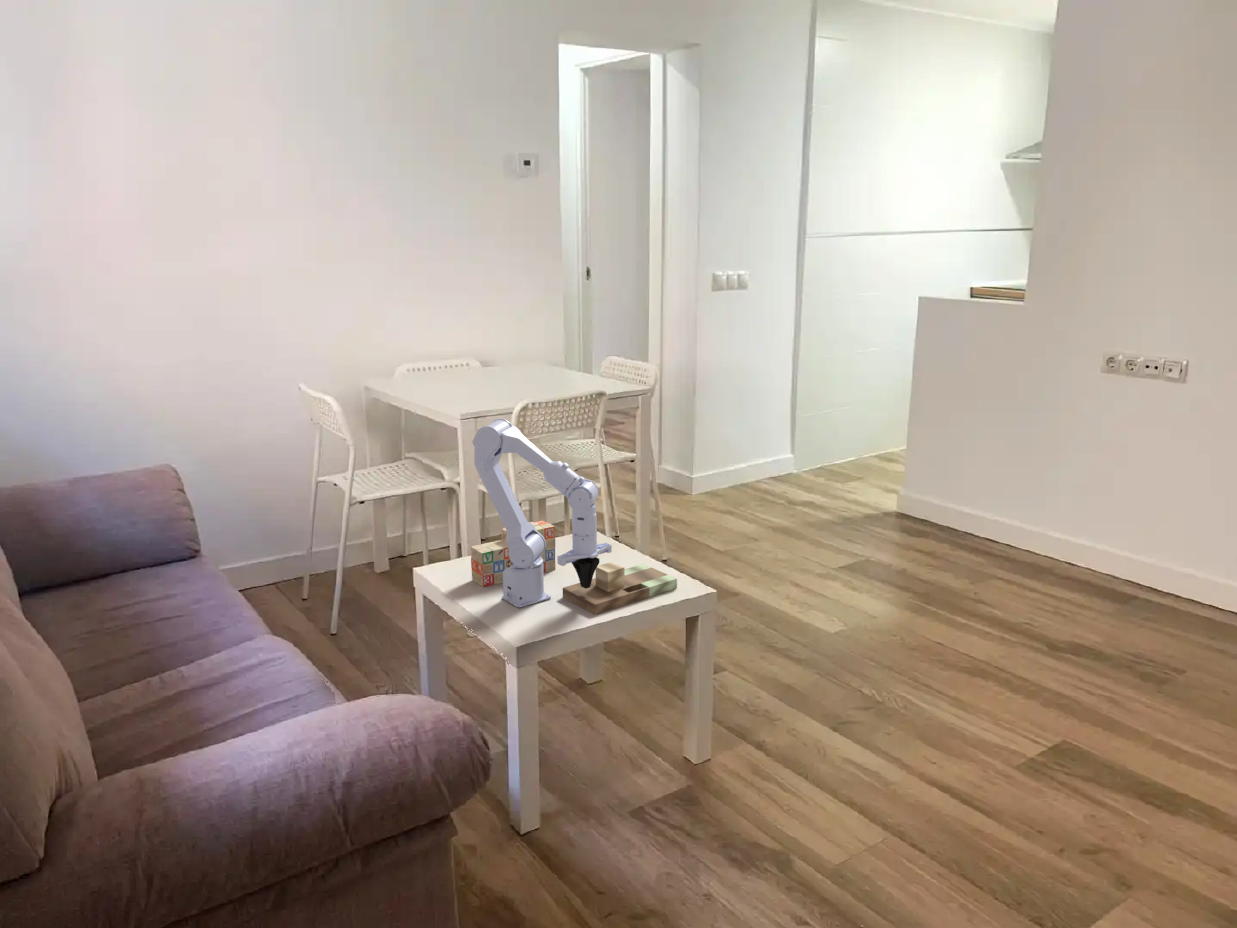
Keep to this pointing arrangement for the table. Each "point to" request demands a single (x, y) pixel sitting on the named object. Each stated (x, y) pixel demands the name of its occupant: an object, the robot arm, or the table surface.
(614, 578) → the maple block
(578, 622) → the table surface
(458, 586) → the table surface
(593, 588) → the trap board
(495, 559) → the stack of blocks
